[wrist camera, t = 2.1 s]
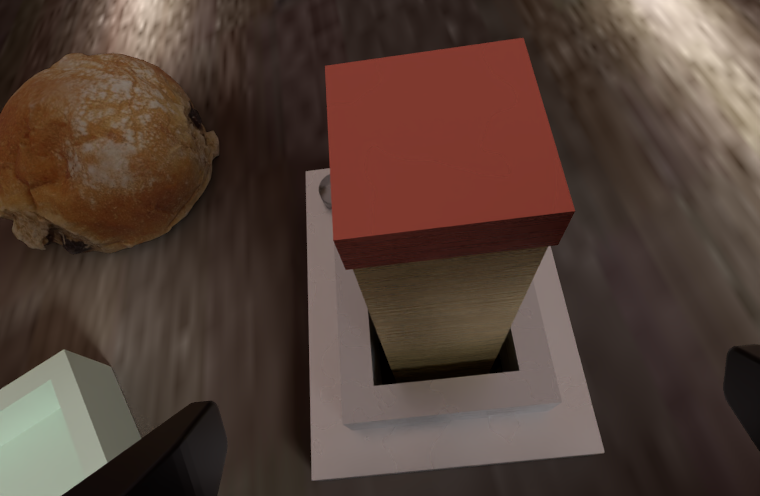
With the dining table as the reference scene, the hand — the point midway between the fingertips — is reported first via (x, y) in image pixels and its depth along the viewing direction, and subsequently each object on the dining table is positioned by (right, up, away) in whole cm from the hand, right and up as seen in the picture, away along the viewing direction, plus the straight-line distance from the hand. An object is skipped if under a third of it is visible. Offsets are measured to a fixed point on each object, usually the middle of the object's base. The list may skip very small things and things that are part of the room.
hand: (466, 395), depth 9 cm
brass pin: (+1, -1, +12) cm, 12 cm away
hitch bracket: (+1, 0, +12) cm, 12 cm away
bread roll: (-15, +6, +17) cm, 24 cm away
